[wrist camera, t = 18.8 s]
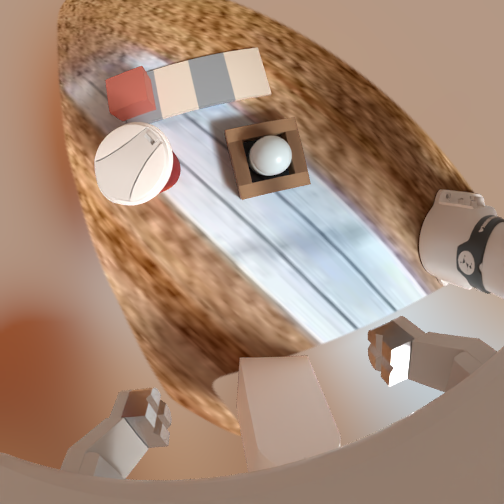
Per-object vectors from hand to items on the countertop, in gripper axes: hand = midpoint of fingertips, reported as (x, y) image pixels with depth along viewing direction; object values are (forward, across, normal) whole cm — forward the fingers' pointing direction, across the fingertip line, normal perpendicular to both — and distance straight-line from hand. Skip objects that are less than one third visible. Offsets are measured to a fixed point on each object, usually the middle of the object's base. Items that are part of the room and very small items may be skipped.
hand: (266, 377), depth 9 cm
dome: (+29, +7, +9) cm, 31 cm away
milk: (+29, 0, -27) cm, 40 cm away
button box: (+29, +7, +9) cm, 31 cm away
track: (+29, 0, +22) cm, 36 cm away
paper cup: (+29, -7, +11) cm, 32 cm away
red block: (+29, -8, +22) cm, 37 cm away
